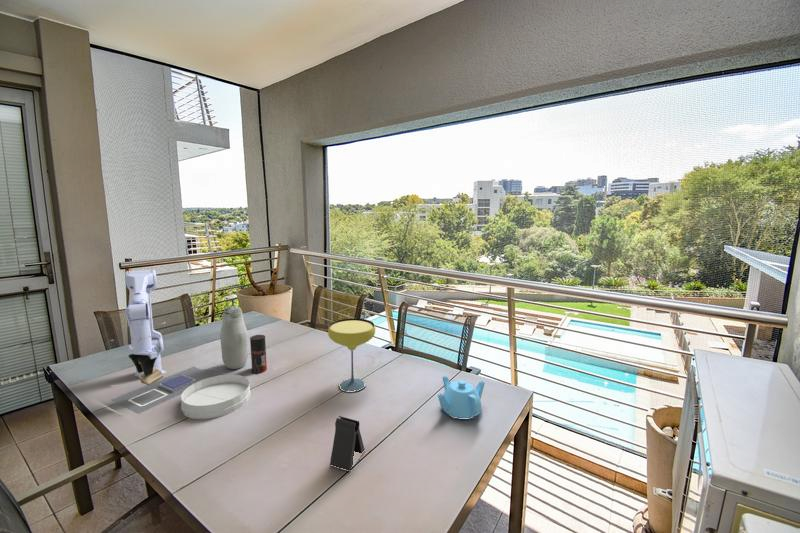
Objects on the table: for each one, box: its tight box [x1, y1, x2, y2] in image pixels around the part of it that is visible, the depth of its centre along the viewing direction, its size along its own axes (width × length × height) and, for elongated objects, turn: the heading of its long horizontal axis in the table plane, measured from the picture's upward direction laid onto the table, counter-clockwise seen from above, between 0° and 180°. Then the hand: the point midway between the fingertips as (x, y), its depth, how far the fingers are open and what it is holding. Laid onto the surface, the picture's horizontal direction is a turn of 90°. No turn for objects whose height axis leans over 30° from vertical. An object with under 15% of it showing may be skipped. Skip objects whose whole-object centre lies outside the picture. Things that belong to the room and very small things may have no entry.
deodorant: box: [249, 334, 268, 374], centre depth 146 cm, size 6×6×15 cm
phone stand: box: [329, 415, 366, 470], centre depth 95 cm, size 9×6×12 cm, turn 158°
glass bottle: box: [219, 305, 249, 370], centre depth 148 cm, size 10×10×28 cm
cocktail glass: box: [327, 318, 376, 391], centre depth 133 cm, size 18×18×25 cm
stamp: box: [138, 361, 164, 386], centre depth 123 cm, size 5×5×9 cm
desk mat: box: [111, 366, 220, 414], centre depth 132 cm, size 18×30×1 cm, turn 153°
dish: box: [180, 374, 251, 420], centre depth 123 cm, size 22×22×5 cm
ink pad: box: [159, 375, 196, 393], centre depth 133 cm, size 9×9×2 cm
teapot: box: [437, 375, 486, 418], centre depth 119 cm, size 15×15×11 cm
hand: (145, 373), depth 123 cm, fingers closed on stamp, 4 cm apart
